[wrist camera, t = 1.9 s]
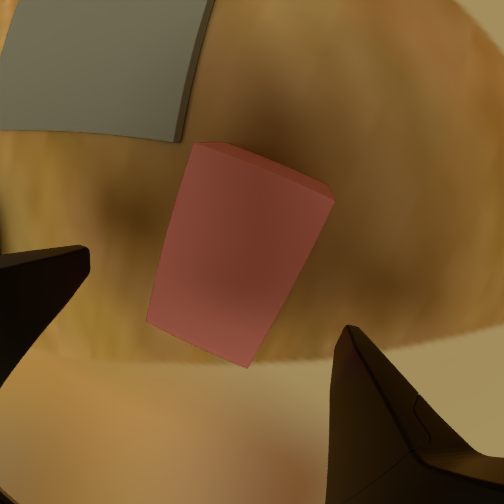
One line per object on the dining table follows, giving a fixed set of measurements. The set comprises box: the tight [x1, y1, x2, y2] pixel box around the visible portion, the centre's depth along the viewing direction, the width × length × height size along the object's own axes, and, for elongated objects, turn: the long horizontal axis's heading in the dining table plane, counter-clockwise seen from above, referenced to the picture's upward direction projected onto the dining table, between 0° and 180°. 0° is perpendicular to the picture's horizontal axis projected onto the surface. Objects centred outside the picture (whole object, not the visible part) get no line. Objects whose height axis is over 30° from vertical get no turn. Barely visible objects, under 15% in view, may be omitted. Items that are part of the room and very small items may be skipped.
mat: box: [0, 0, 215, 142], centre depth 11 cm, size 18×14×1 cm
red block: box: [146, 142, 336, 368], centre depth 12 cm, size 5×8×4 cm, turn 159°
